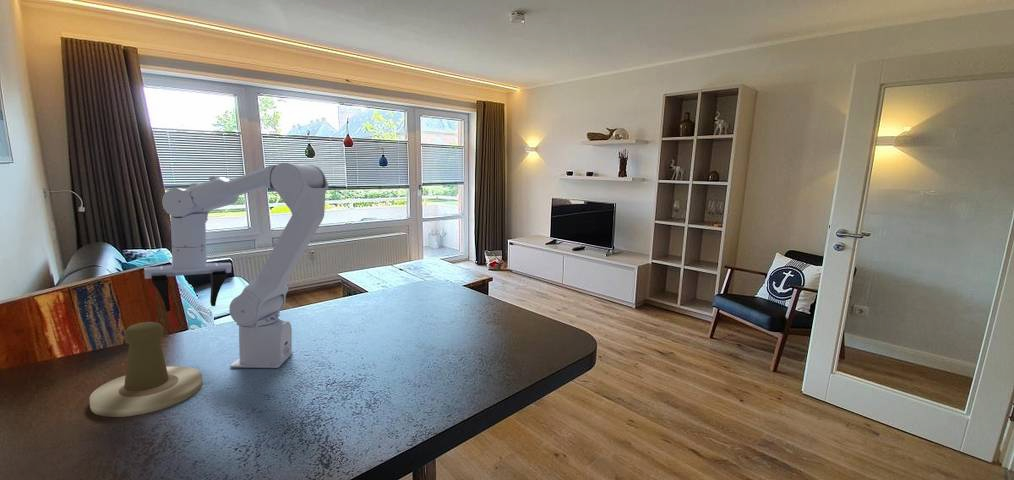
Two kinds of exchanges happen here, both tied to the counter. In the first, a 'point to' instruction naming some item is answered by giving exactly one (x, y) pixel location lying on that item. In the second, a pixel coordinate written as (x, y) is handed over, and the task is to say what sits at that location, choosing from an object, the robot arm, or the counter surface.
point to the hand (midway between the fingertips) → (191, 307)
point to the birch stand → (145, 394)
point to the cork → (145, 357)
